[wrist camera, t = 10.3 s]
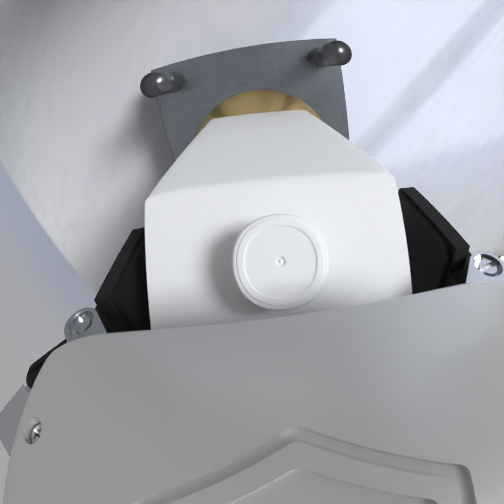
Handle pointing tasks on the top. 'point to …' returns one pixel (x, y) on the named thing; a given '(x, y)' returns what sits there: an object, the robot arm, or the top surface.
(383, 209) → the milk carton
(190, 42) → the top surface
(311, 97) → the grey pegged base
